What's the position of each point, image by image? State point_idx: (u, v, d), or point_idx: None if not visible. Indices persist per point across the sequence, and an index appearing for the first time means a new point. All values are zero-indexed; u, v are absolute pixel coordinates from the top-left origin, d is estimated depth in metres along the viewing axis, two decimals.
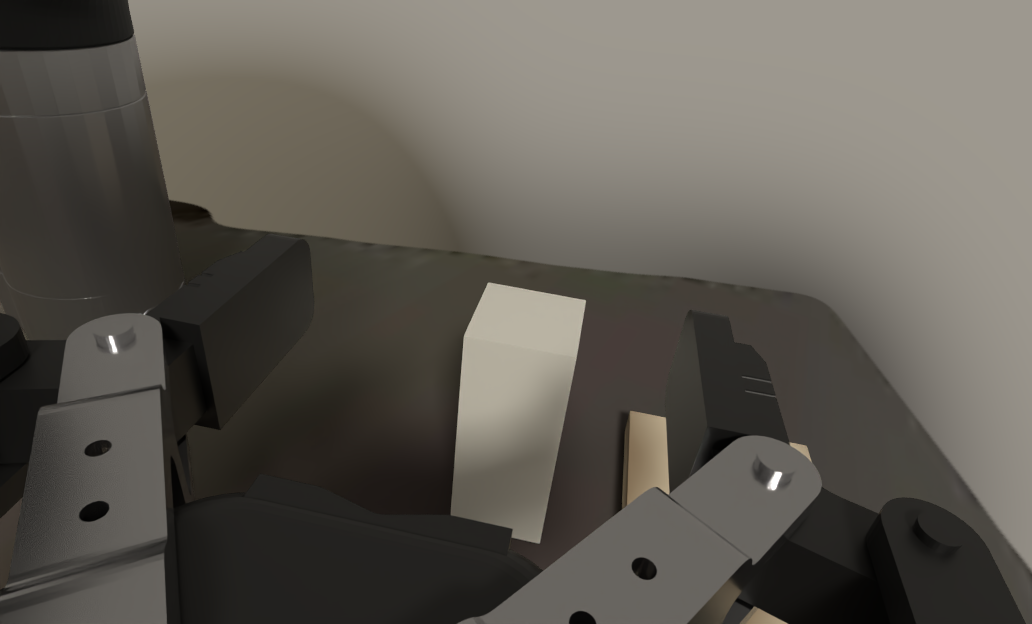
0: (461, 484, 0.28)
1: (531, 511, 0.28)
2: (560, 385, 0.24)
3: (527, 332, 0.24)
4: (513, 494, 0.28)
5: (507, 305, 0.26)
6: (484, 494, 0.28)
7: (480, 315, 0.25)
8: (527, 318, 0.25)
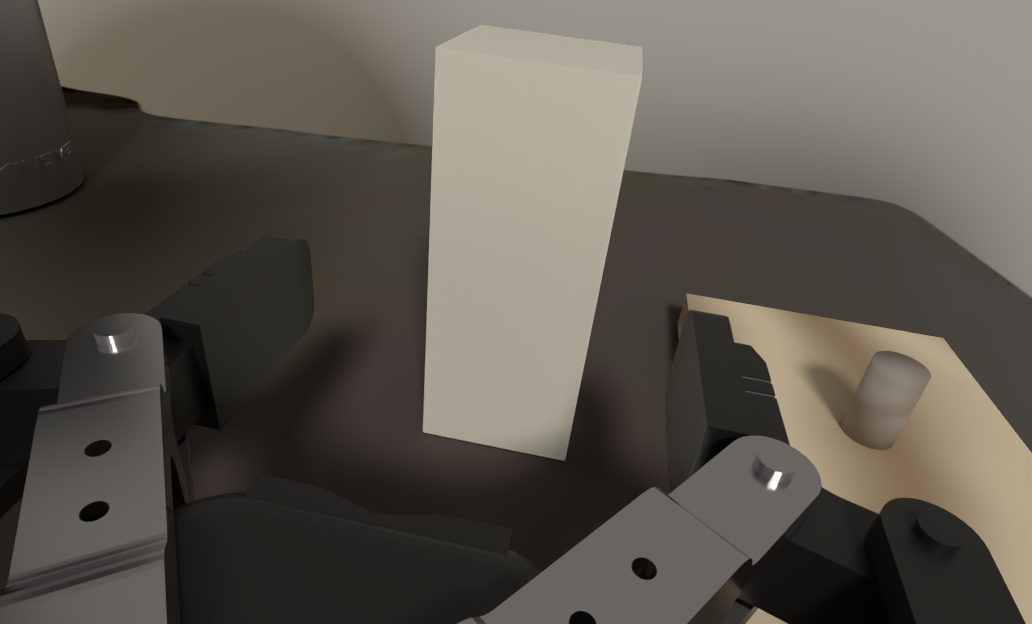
0: (439, 359, 0.17)
1: (552, 403, 0.17)
2: (609, 142, 0.14)
3: (550, 54, 0.14)
4: (523, 373, 0.17)
5: (513, 38, 0.15)
6: (476, 376, 0.17)
7: (467, 39, 0.15)
8: (547, 47, 0.15)
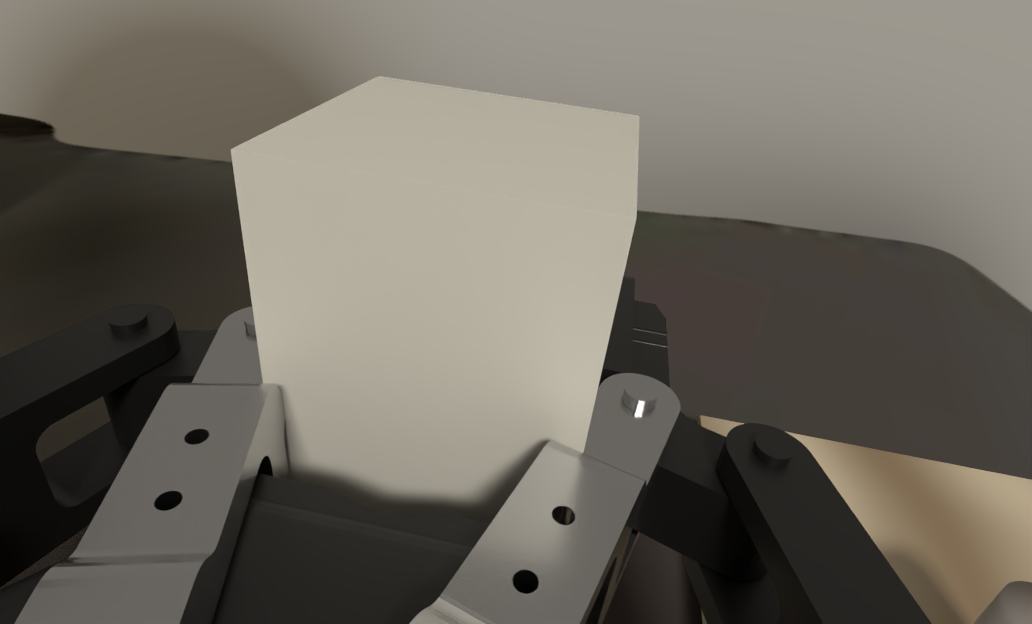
0: None
1: None
2: (573, 328, 0.07)
3: (463, 156, 0.07)
4: None
5: (416, 108, 0.09)
6: None
7: (322, 117, 0.08)
8: (470, 131, 0.08)
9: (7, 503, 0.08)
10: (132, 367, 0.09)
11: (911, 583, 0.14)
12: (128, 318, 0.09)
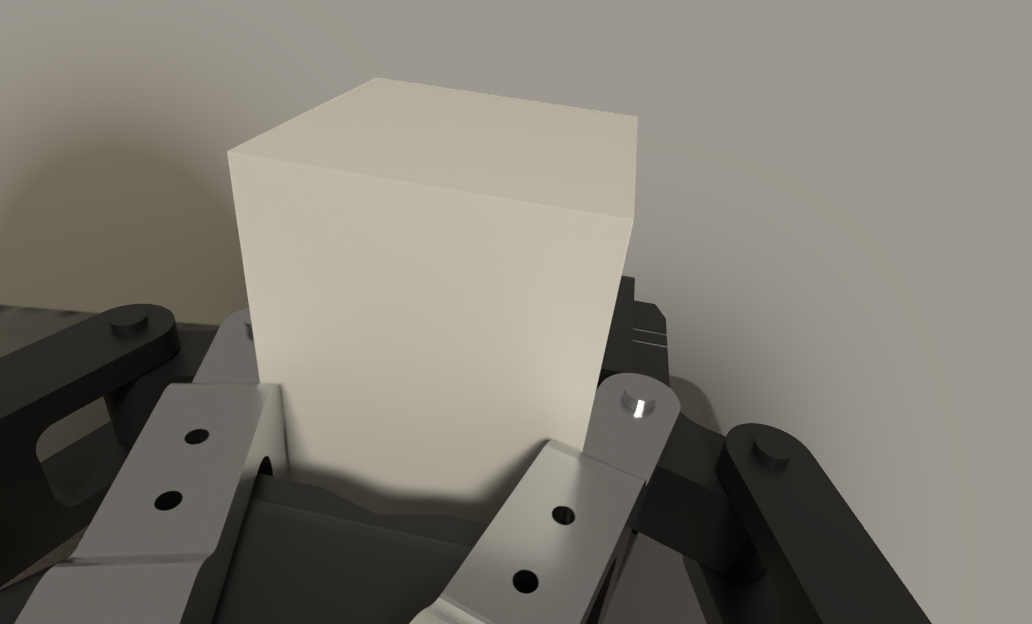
0: None
1: None
2: (570, 330, 0.07)
3: (461, 157, 0.07)
4: None
5: (414, 109, 0.09)
6: None
7: (319, 119, 0.08)
8: (467, 133, 0.08)
9: (7, 503, 0.08)
10: (132, 367, 0.09)
11: None
12: (128, 318, 0.09)
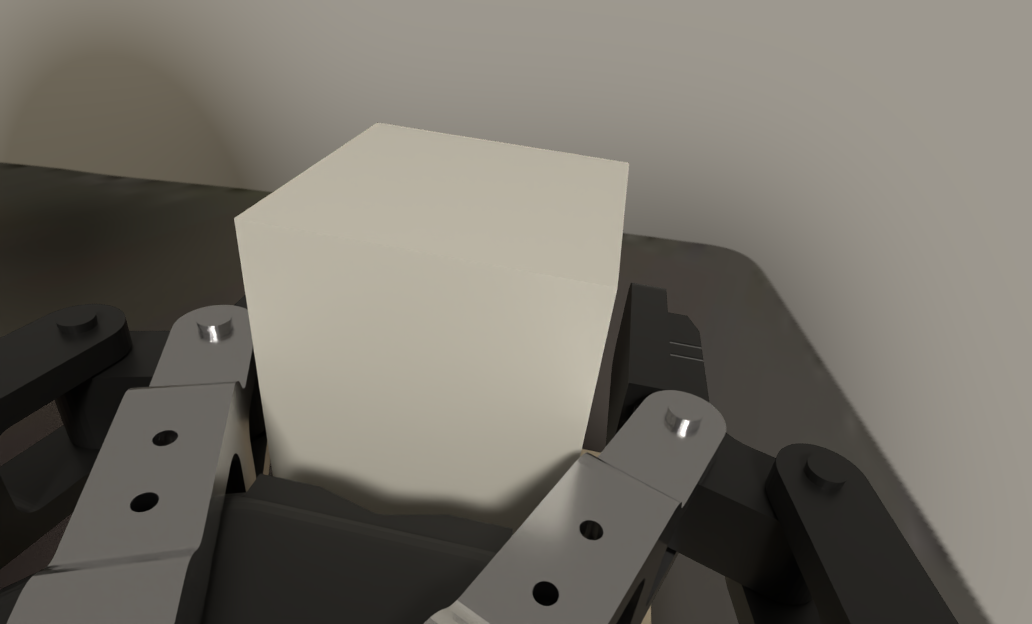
0: None
1: None
2: (559, 385, 0.07)
3: (455, 218, 0.08)
4: None
5: (413, 161, 0.09)
6: None
7: (321, 176, 0.08)
8: (462, 189, 0.09)
9: None
10: (79, 368, 0.09)
11: None
12: (76, 318, 0.09)
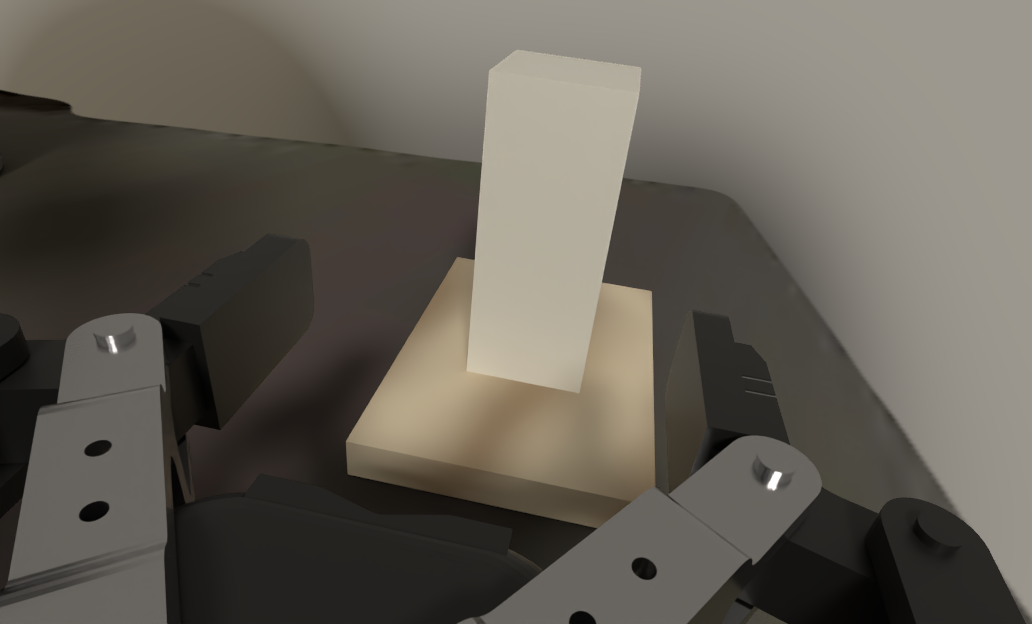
0: (482, 310, 0.22)
1: (570, 344, 0.22)
2: (615, 140, 0.18)
3: (571, 76, 0.19)
4: (548, 320, 0.22)
5: (543, 61, 0.20)
6: (511, 323, 0.22)
7: (509, 63, 0.19)
8: (569, 69, 0.20)
9: None
10: None
11: None
12: None
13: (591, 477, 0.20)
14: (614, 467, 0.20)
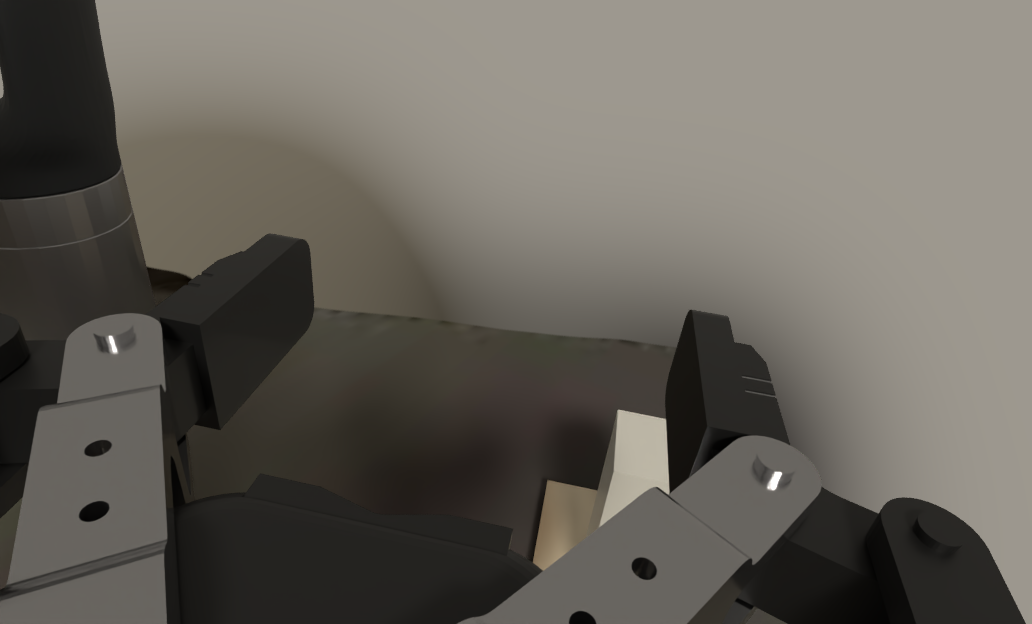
0: None
1: None
2: None
3: (664, 465, 0.29)
4: None
5: (640, 435, 0.30)
6: None
7: (621, 447, 0.29)
8: (660, 450, 0.29)
9: None
10: None
11: None
12: None
13: None
14: None
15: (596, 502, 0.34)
